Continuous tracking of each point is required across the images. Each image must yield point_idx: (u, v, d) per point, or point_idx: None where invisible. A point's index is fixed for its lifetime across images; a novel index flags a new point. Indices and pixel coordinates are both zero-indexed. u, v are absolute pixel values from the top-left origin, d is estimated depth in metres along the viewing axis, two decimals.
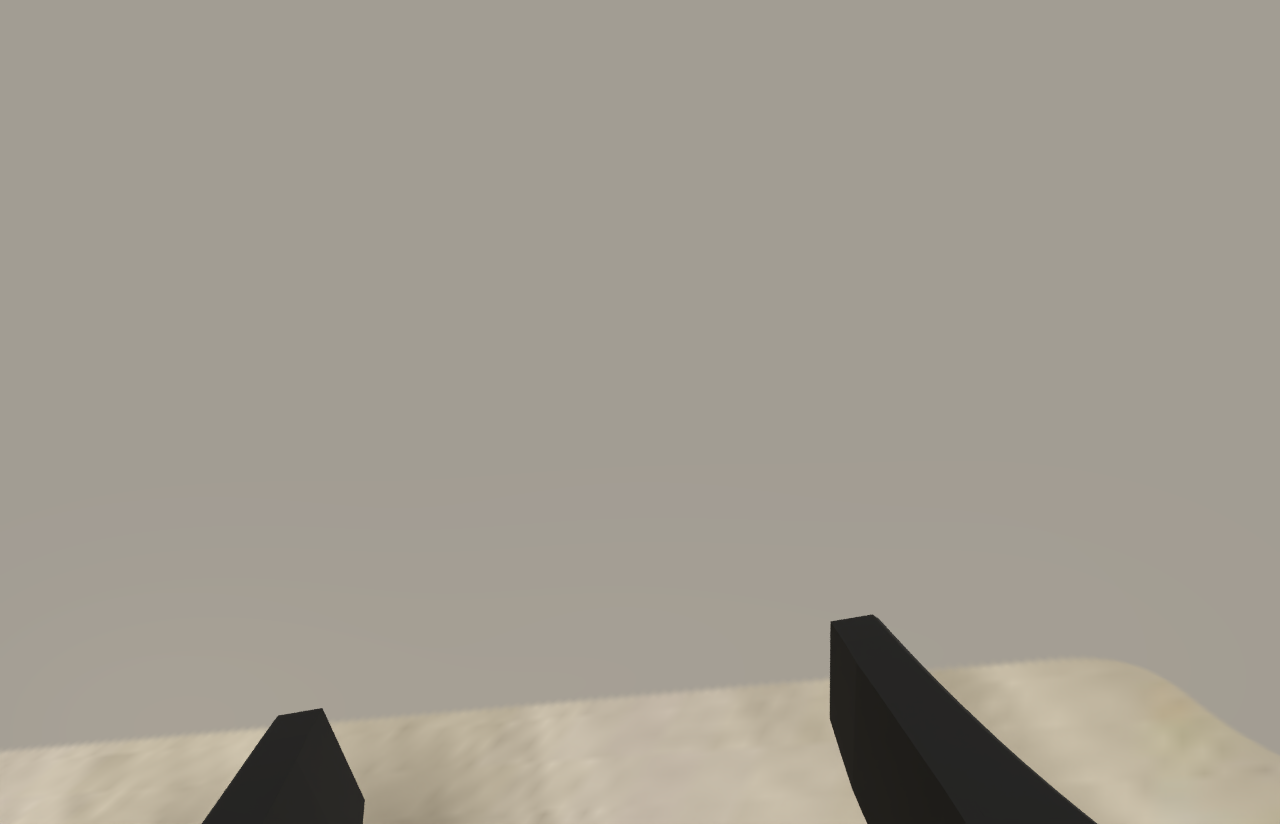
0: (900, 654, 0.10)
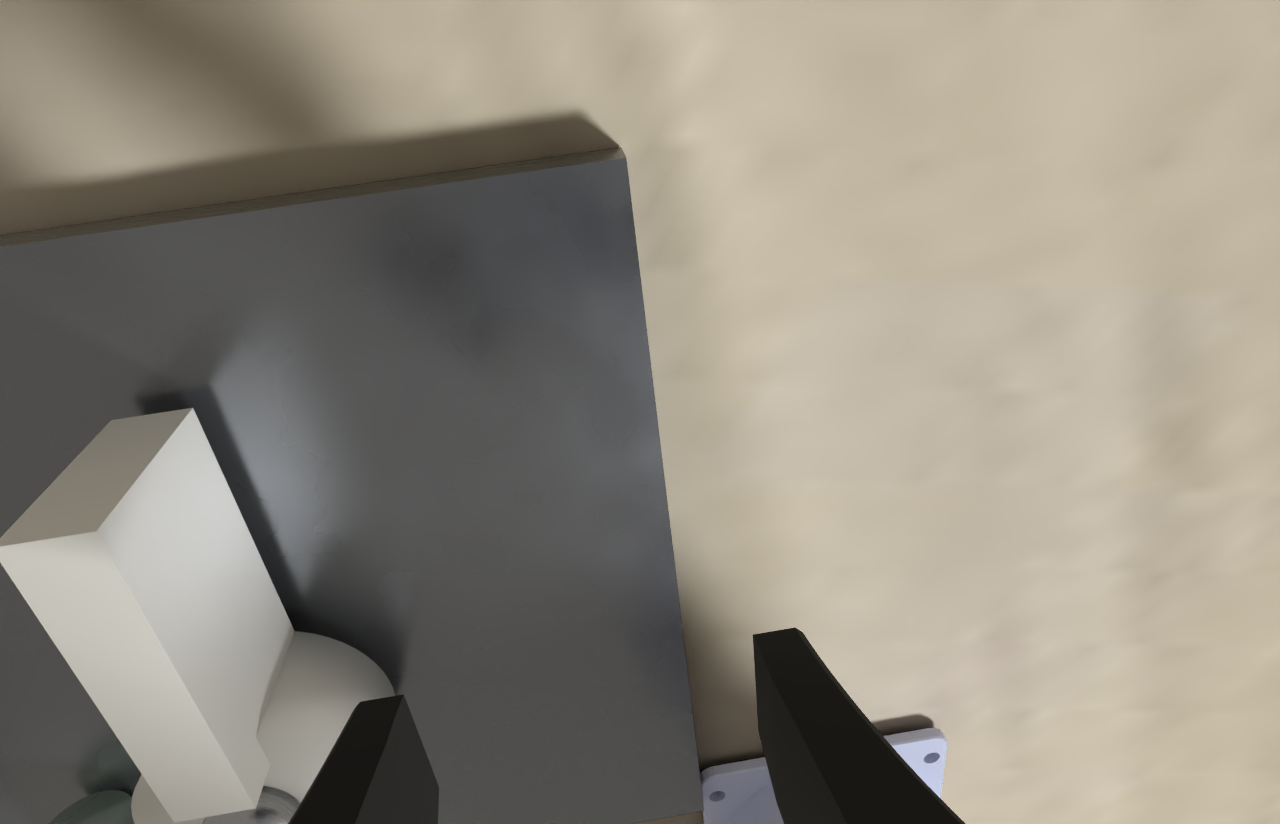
0: (814, 667, 0.10)
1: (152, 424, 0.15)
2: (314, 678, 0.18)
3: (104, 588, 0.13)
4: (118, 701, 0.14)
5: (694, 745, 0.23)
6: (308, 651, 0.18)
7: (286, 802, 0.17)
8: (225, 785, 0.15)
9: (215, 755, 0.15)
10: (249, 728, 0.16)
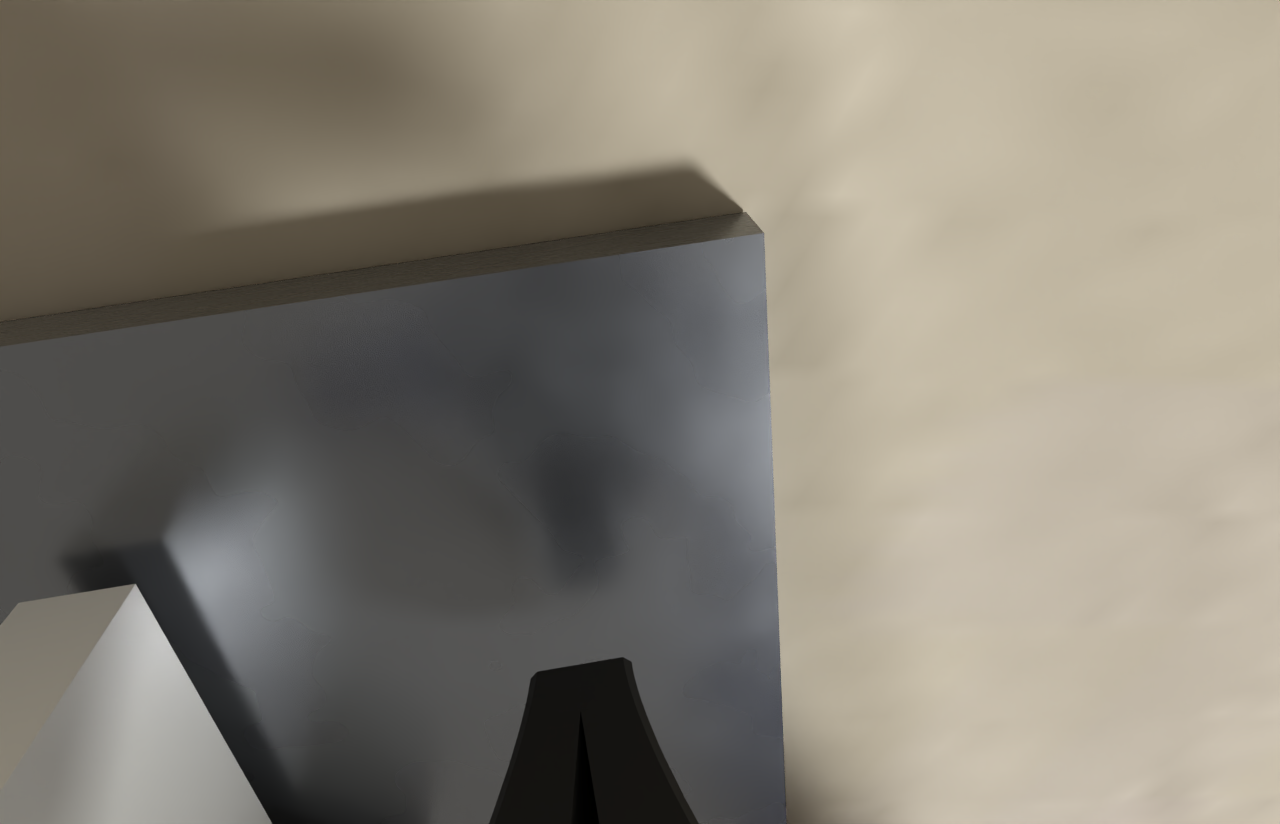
0: (626, 700, 0.10)
1: (73, 616, 0.11)
2: None
3: None
4: None
5: None
6: None
7: None
8: None
9: None
10: None
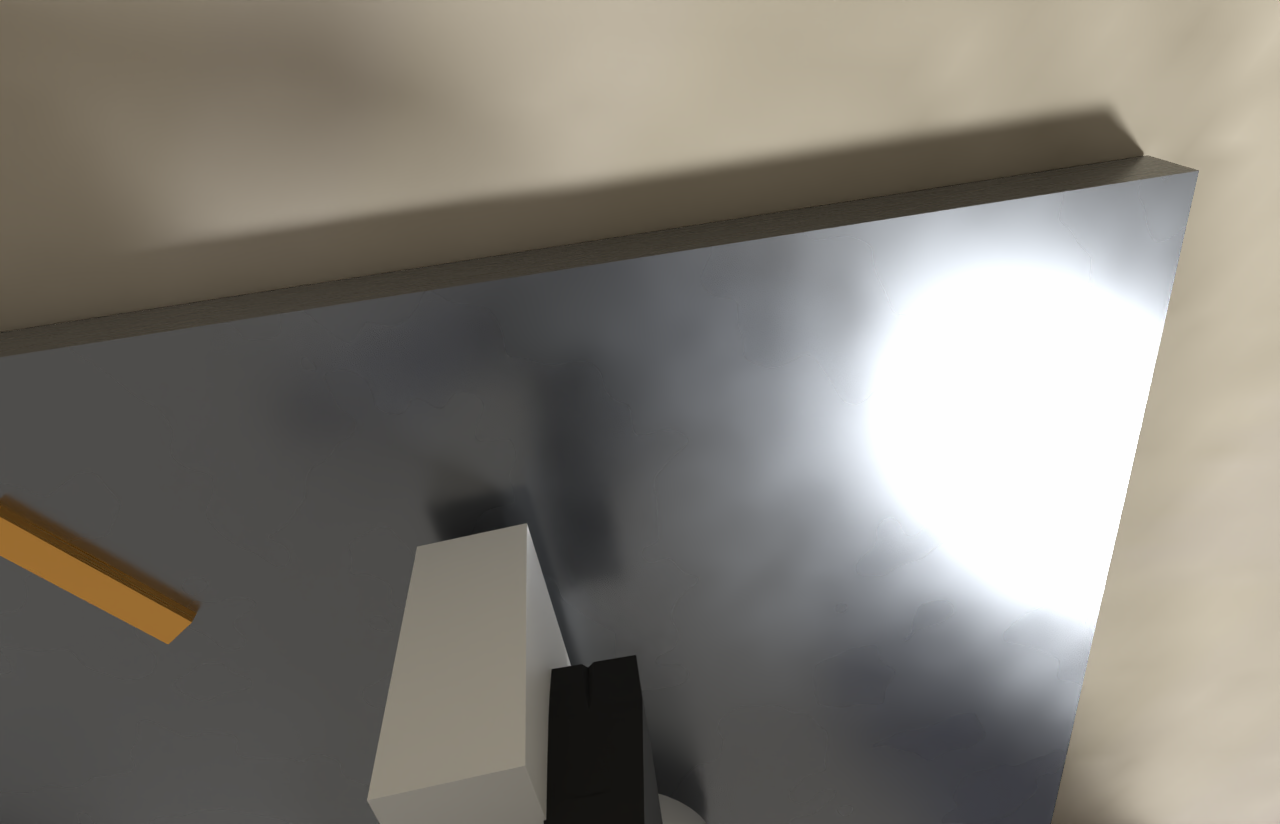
0: (581, 709, 0.10)
1: (484, 554, 0.11)
2: None
3: None
4: None
5: None
6: None
7: None
8: None
9: None
10: None
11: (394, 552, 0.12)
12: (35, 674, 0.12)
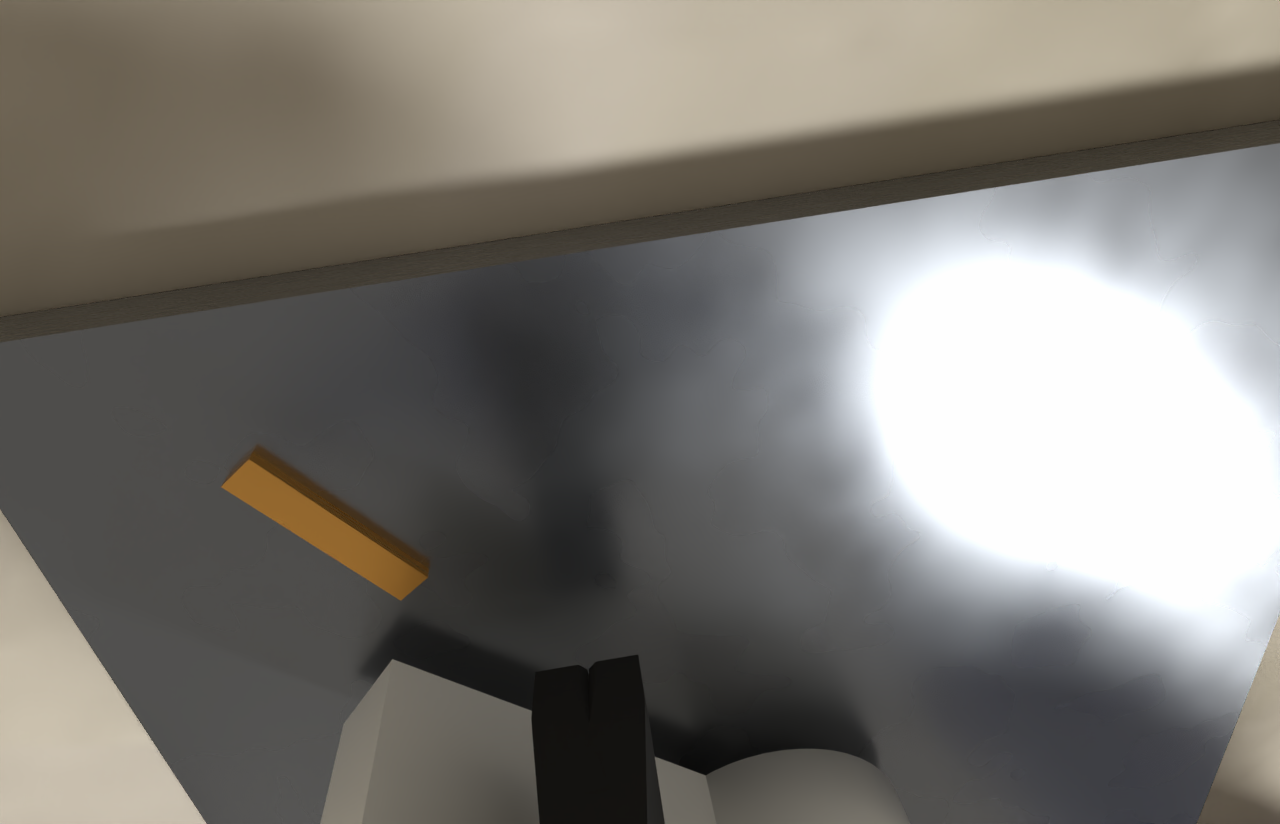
0: (577, 709, 0.10)
1: (368, 710, 0.12)
2: None
3: None
4: None
5: None
6: (735, 793, 0.14)
7: None
8: None
9: None
10: None
11: (632, 506, 0.12)
12: (260, 632, 0.12)
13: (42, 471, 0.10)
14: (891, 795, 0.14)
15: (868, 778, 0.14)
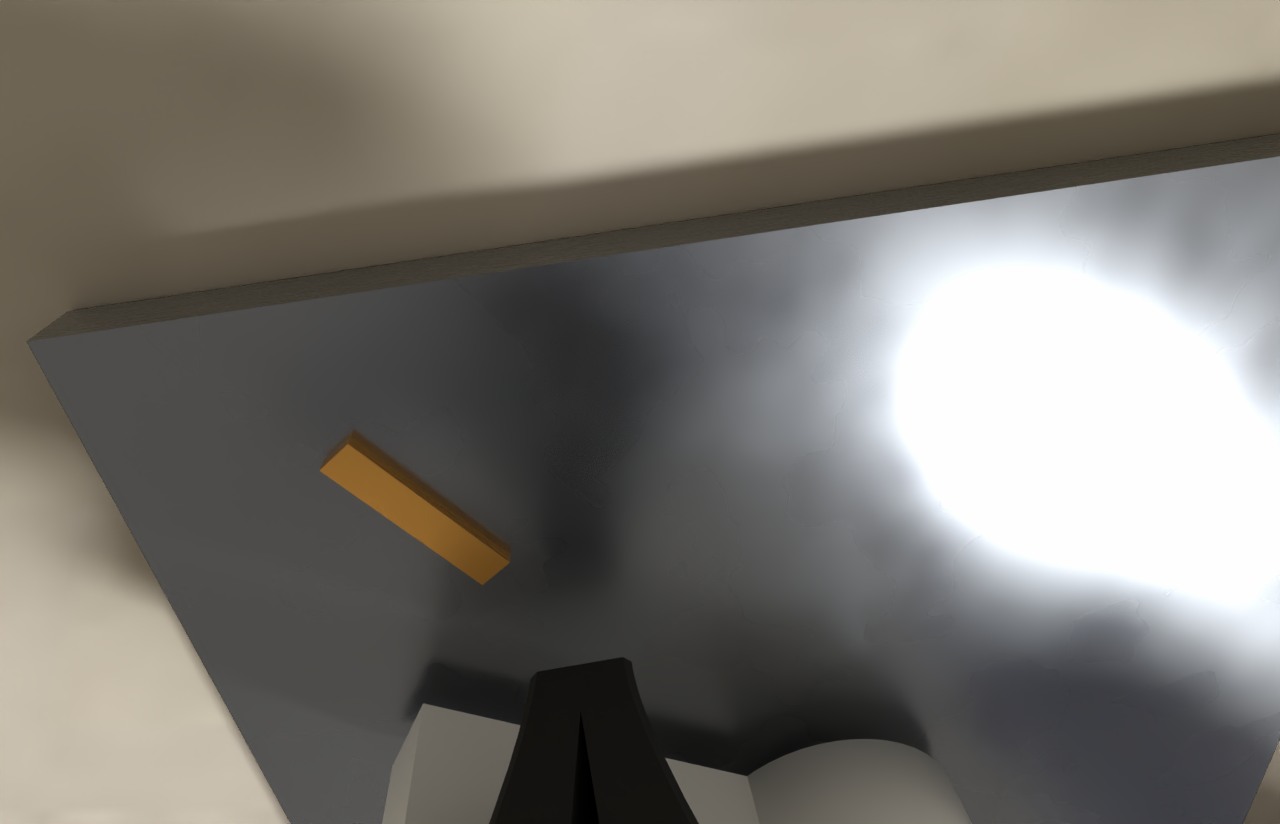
0: (626, 701, 0.10)
1: (406, 753, 0.13)
2: (801, 822, 0.13)
3: None
4: None
5: None
6: (775, 791, 0.14)
7: None
8: None
9: None
10: None
11: (708, 495, 0.12)
12: (345, 614, 0.12)
13: (150, 453, 0.11)
14: (936, 777, 0.14)
15: (909, 763, 0.14)
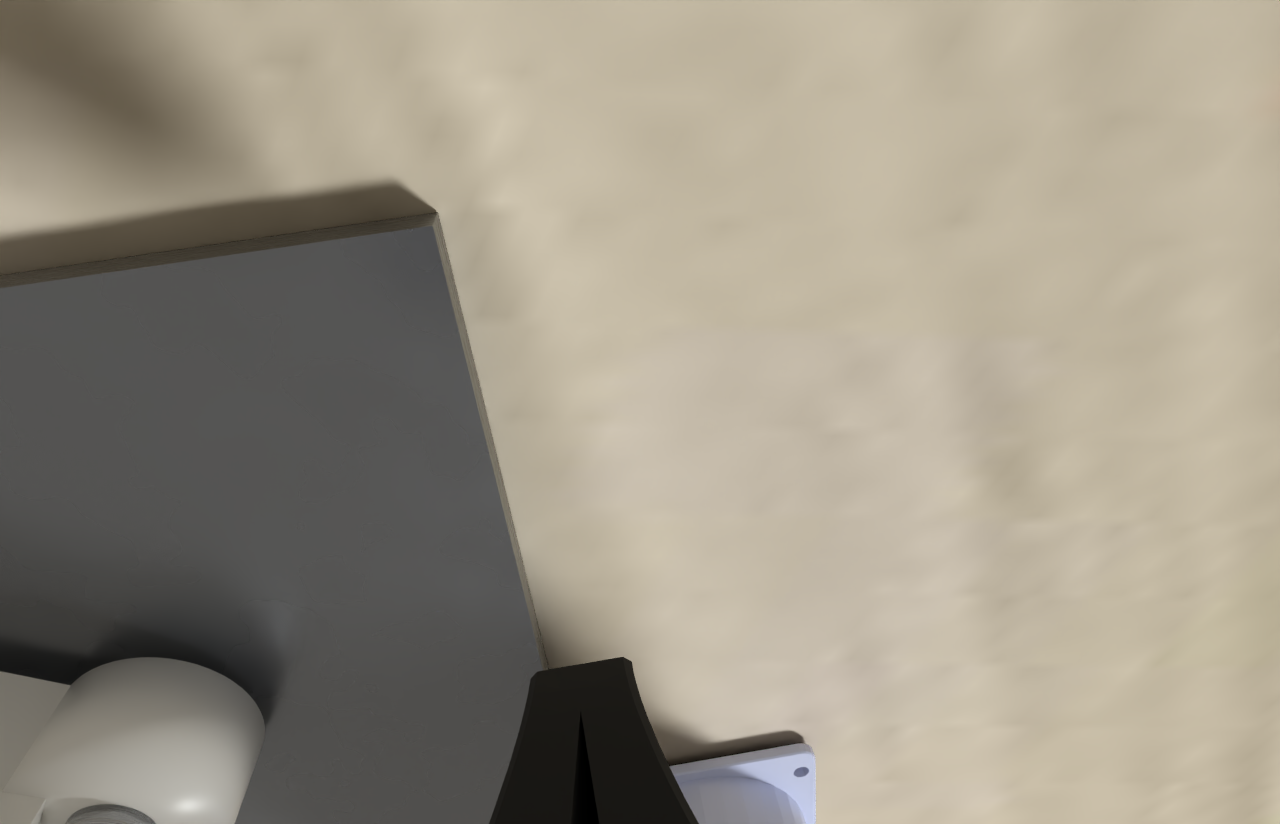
0: (626, 700, 0.10)
1: None
2: (63, 712, 0.19)
3: None
4: None
5: None
6: (69, 693, 0.20)
7: (90, 813, 0.18)
8: None
9: None
10: None
11: None
12: None
13: None
14: (200, 684, 0.20)
15: (177, 673, 0.20)
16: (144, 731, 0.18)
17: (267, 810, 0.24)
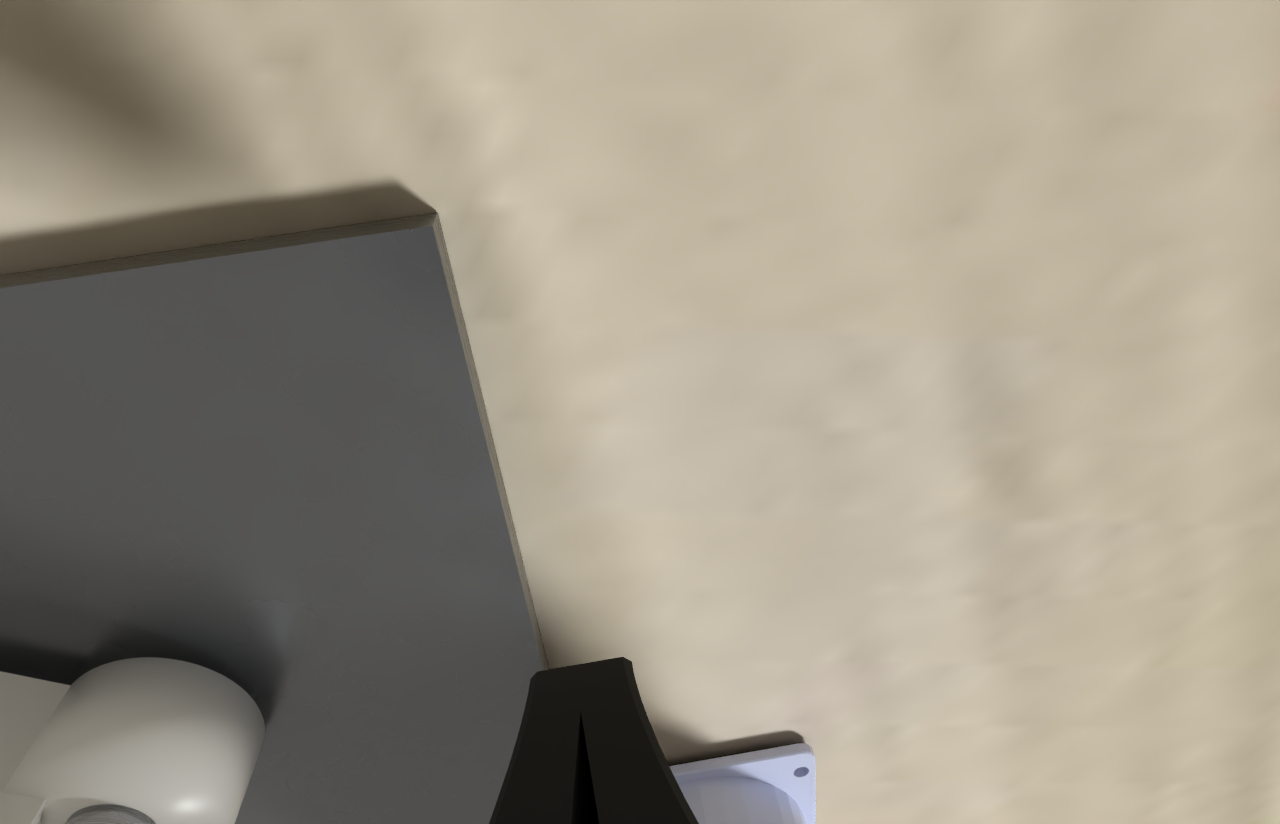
0: (626, 700, 0.10)
1: None
2: (63, 712, 0.19)
3: None
4: None
5: None
6: (69, 693, 0.20)
7: (90, 813, 0.18)
8: None
9: None
10: None
11: None
12: None
13: None
14: (200, 684, 0.20)
15: (177, 673, 0.20)
16: (144, 731, 0.18)
17: (267, 810, 0.24)
